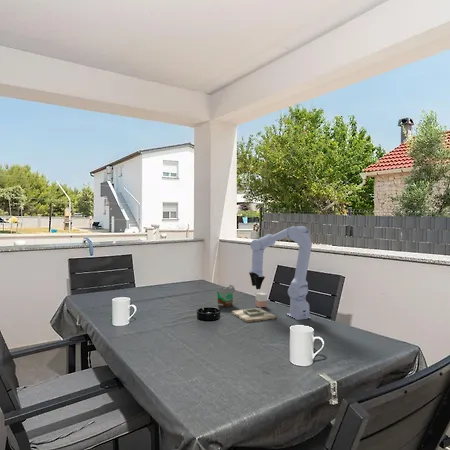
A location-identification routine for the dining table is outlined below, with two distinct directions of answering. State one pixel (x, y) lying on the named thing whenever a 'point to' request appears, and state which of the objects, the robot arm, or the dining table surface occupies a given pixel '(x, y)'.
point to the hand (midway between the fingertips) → (256, 287)
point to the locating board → (253, 314)
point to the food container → (225, 296)
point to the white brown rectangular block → (261, 299)
